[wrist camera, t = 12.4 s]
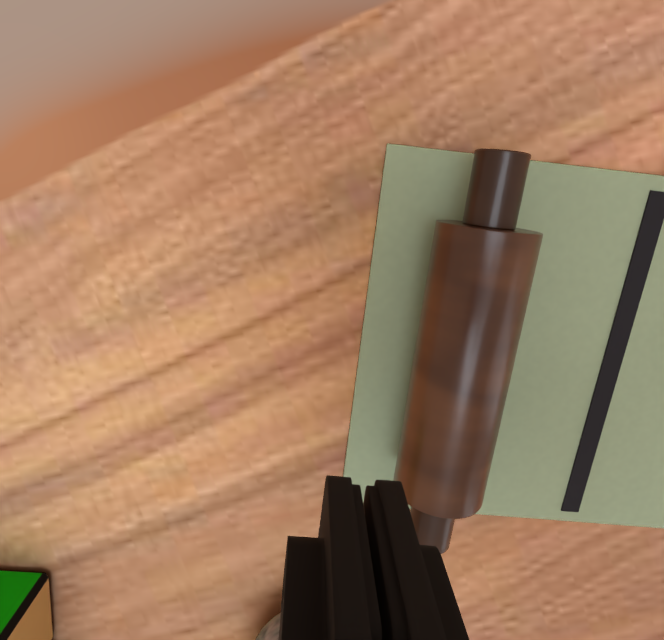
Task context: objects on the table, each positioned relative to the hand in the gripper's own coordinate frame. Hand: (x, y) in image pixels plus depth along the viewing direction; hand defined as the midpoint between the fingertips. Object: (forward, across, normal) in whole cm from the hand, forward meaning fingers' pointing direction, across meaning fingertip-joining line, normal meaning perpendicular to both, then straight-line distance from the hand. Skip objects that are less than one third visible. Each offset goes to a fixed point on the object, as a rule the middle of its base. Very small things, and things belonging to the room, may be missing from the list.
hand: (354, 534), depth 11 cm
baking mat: (+14, -14, 0) cm, 20 cm away
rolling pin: (+14, -6, 0) cm, 15 cm away
